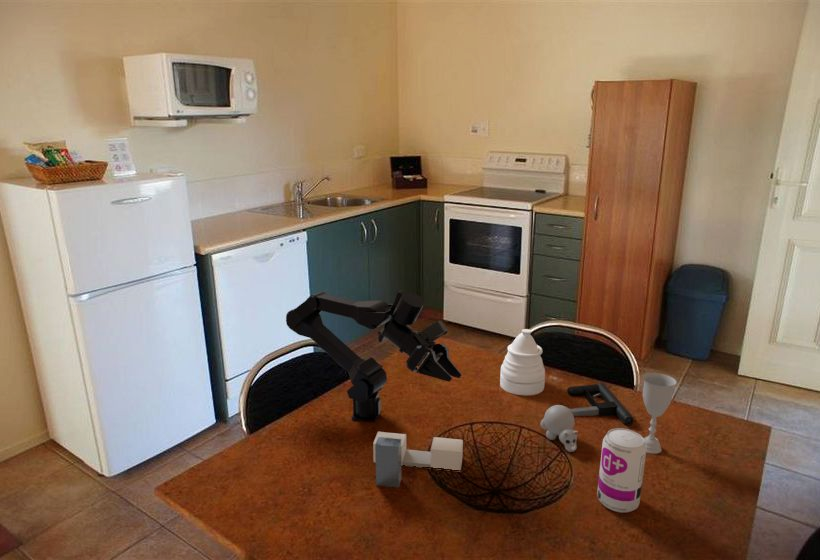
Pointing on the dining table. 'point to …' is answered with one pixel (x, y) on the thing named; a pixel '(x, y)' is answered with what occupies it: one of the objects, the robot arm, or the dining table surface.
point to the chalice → (656, 403)
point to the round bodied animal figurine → (560, 426)
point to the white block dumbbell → (441, 455)
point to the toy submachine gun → (602, 409)
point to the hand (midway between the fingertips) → (455, 378)
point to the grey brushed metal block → (388, 462)
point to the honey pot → (523, 366)
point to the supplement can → (621, 470)
